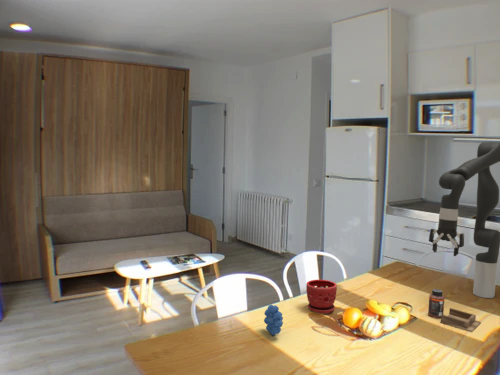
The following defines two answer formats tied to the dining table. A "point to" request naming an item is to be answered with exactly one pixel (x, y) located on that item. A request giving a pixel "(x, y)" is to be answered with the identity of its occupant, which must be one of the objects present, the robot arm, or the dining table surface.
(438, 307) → the supplement bottle
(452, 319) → the wooden tray
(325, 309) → the plant pot
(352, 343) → the dining table surface
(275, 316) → the grapes
